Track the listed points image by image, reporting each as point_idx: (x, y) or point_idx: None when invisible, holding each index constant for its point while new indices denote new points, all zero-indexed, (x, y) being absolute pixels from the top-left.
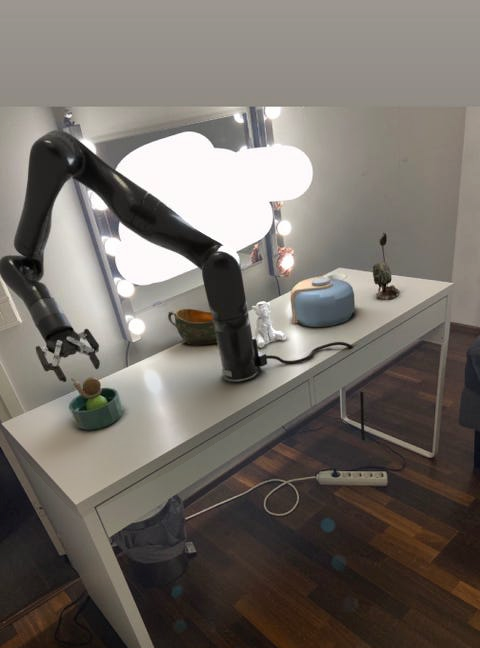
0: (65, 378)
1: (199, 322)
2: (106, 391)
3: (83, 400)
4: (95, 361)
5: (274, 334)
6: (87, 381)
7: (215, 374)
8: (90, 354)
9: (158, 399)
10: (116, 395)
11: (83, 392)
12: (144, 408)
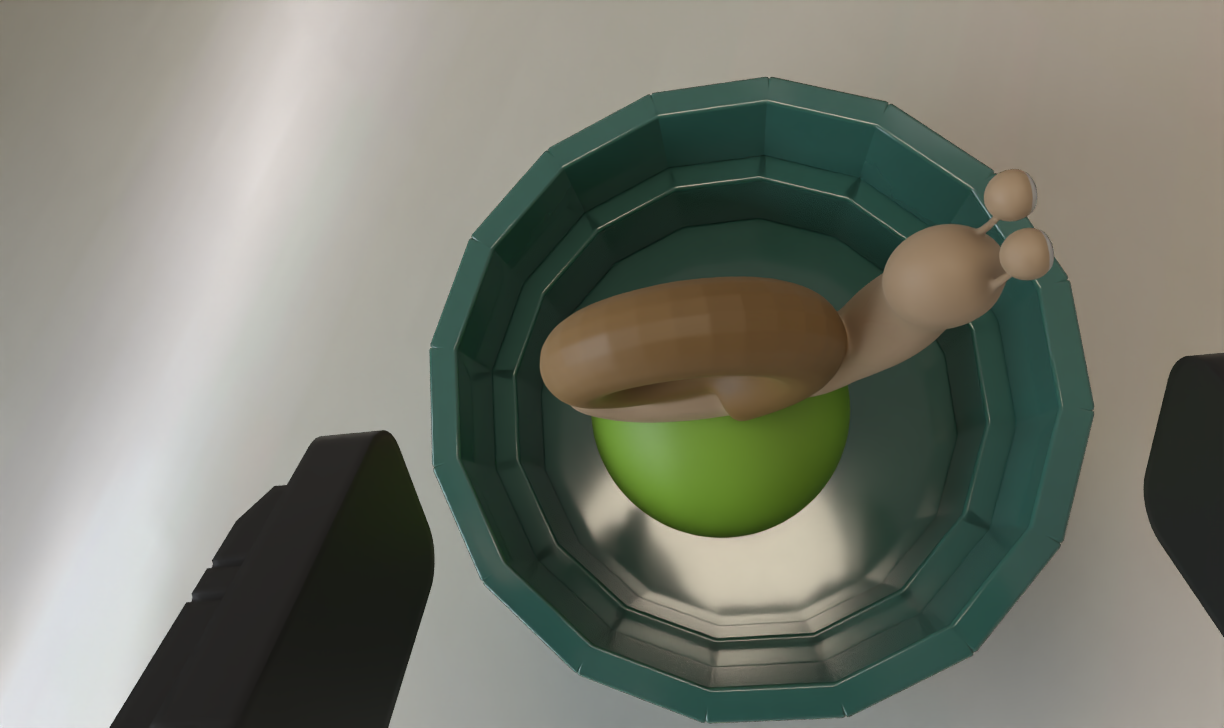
0: (1197, 359)
1: None
2: (522, 565)
3: (834, 664)
4: (313, 489)
5: None
6: (728, 278)
7: None
8: (229, 697)
9: (198, 334)
10: (479, 247)
11: (853, 296)
12: (356, 271)
